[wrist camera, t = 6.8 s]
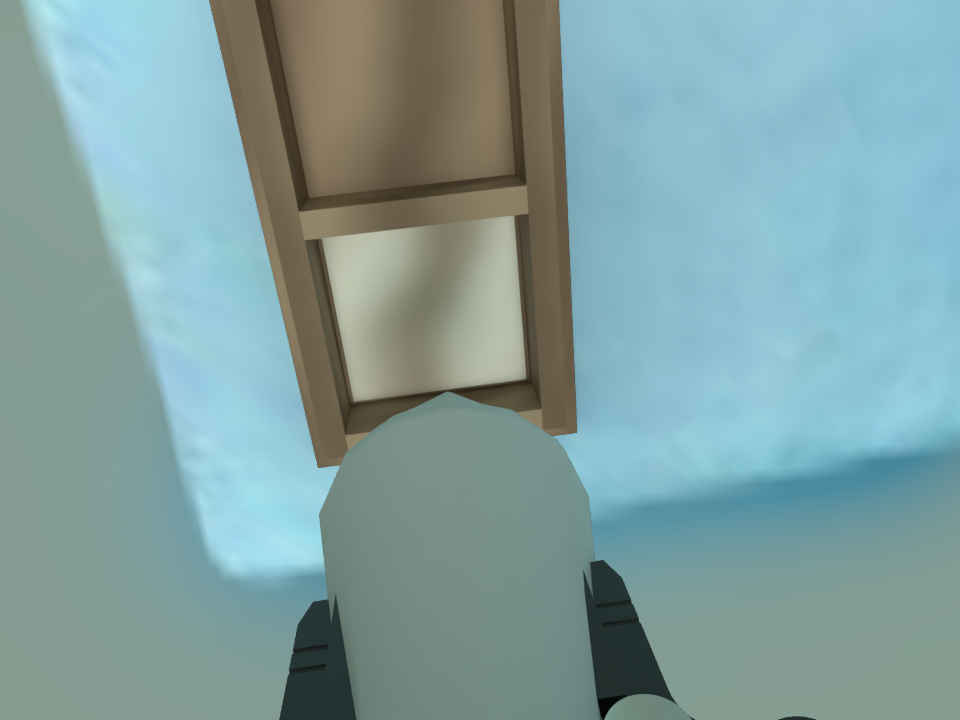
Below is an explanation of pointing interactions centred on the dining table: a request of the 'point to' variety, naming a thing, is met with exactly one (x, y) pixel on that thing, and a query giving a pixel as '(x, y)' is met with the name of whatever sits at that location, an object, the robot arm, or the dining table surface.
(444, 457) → the salt shaker
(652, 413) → the dining table surface
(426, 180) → the slot caddy
